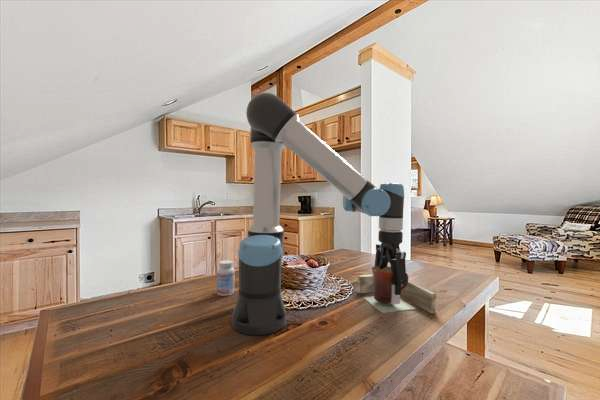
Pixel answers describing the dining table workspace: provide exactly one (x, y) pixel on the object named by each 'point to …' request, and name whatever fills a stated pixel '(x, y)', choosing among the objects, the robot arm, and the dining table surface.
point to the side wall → (365, 283)
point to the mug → (383, 284)
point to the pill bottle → (225, 278)
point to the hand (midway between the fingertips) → (388, 298)
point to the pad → (389, 305)
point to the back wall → (420, 296)
